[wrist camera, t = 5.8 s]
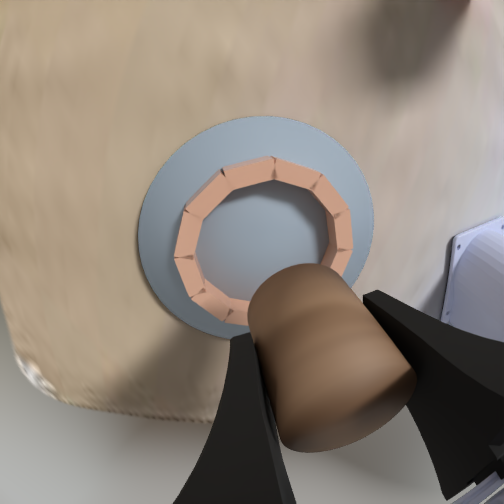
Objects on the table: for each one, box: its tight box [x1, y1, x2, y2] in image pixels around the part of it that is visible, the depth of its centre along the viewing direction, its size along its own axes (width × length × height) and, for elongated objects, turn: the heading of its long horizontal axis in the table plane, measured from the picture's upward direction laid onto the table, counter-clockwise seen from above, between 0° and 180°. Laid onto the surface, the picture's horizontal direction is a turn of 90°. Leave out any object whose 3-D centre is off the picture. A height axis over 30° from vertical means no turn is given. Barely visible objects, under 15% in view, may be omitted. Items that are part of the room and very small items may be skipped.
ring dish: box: [138, 116, 374, 339], centre depth 17 cm, size 14×14×2 cm
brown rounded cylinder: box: [247, 263, 417, 453], centre depth 9 cm, size 4×4×5 cm
